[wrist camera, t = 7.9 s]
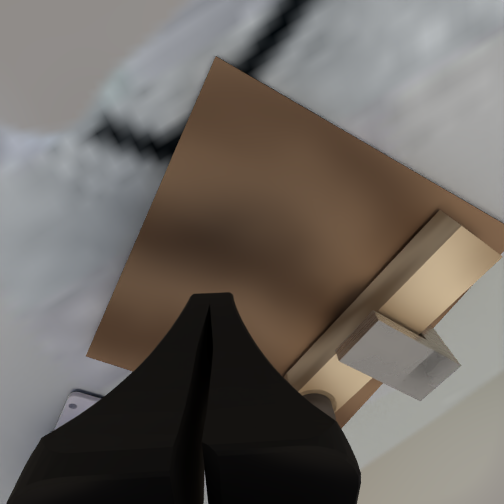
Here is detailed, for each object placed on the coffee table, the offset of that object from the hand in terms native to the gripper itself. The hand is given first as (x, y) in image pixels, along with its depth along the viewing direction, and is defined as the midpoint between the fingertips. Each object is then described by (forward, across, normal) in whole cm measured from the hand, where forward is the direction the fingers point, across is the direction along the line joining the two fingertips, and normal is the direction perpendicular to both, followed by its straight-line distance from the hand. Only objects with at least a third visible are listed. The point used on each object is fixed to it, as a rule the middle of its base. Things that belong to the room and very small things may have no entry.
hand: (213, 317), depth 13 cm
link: (+7, -8, +6) cm, 12 cm away
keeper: (+7, -9, +6) cm, 13 cm away
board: (+8, -4, +4) cm, 10 cm away
